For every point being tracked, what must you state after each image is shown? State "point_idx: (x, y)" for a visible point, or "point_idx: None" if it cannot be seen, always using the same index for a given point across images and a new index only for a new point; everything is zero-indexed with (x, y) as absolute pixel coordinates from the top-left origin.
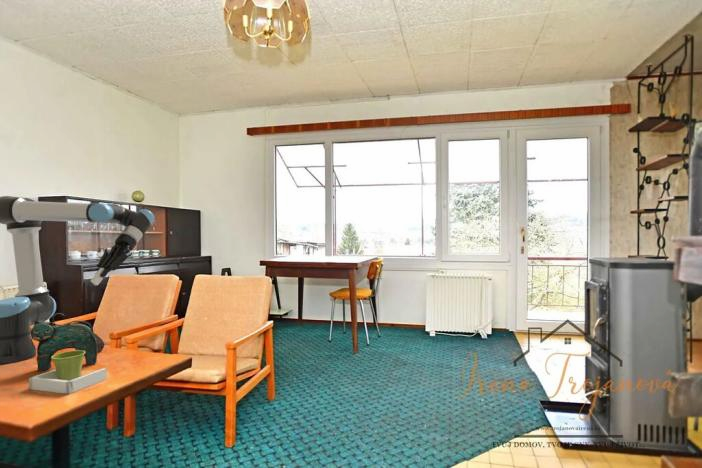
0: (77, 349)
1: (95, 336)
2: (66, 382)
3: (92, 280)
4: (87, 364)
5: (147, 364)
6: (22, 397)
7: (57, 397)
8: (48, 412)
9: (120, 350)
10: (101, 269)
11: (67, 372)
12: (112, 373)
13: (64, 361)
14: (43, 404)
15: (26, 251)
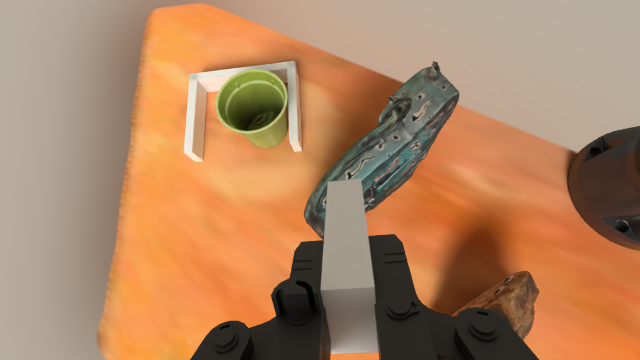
0: (486, 290)
1: (320, 226)
2: (196, 73)
3: (339, 182)
4: None
5: (177, 273)
6: (268, 50)
7: (207, 71)
8: (167, 35)
9: None
10: (336, 270)
11: (245, 105)
12: (212, 192)
13: (235, 84)
14: (203, 48)
15: None
